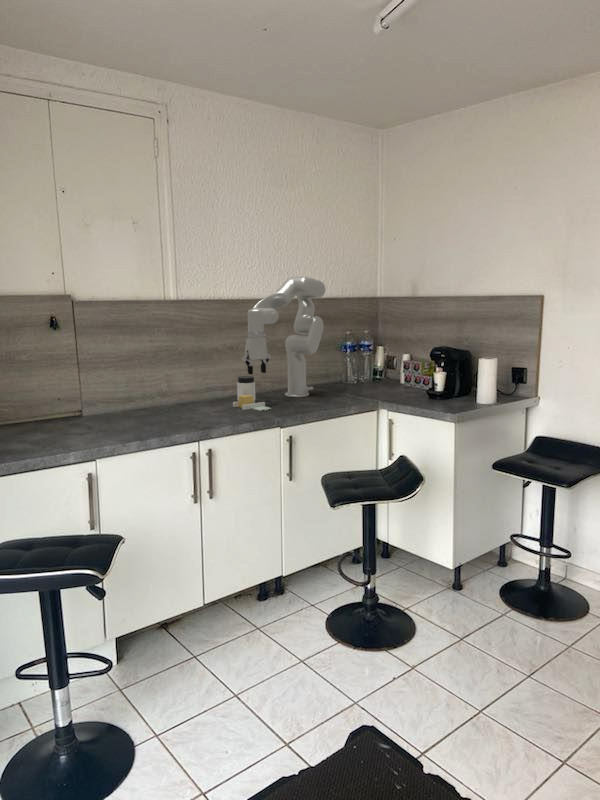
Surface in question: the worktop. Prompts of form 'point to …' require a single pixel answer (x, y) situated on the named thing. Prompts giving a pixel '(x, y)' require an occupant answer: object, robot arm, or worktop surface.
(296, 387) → the robot arm
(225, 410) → the worktop surface
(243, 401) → the block
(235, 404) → the channel
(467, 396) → the worktop surface
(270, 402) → the tray
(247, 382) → the jar
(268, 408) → the coaster
